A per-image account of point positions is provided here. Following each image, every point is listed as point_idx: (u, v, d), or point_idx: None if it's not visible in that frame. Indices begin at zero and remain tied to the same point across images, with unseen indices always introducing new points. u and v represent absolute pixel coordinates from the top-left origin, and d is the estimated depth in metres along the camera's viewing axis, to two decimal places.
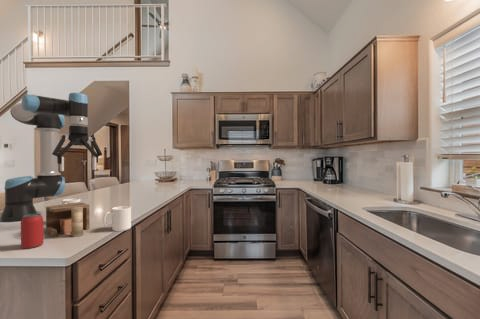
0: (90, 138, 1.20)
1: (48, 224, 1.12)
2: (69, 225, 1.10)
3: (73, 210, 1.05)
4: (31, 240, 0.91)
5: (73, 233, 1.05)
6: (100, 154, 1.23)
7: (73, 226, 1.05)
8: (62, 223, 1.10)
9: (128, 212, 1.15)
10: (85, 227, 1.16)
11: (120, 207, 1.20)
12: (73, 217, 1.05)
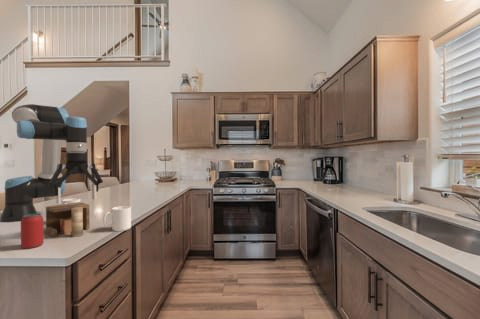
0: (89, 165, 1.10)
1: (48, 224, 1.12)
2: (69, 225, 1.10)
3: (73, 210, 1.05)
4: (31, 240, 0.91)
5: (73, 233, 1.05)
6: (100, 182, 1.13)
7: (73, 226, 1.05)
8: (62, 223, 1.10)
9: (128, 212, 1.15)
10: (85, 227, 1.16)
11: (120, 207, 1.20)
12: (73, 217, 1.05)
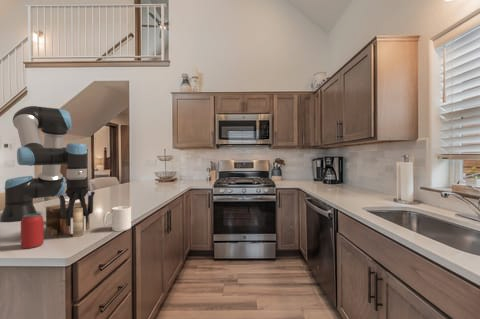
0: (89, 192, 1.10)
1: (48, 224, 1.12)
2: None
3: (73, 210, 1.05)
4: (31, 240, 0.91)
5: (73, 233, 1.05)
6: (90, 212, 1.10)
7: (73, 226, 1.05)
8: (62, 223, 1.10)
9: (128, 212, 1.15)
10: None
11: (120, 207, 1.20)
12: (73, 217, 1.05)
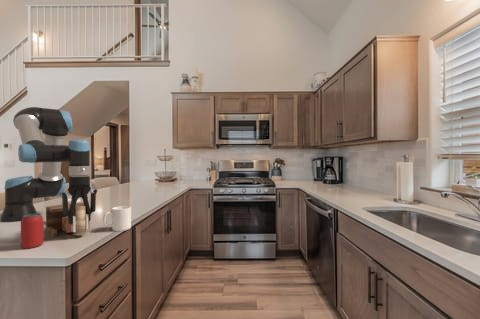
0: (92, 190, 1.08)
1: (48, 224, 1.12)
2: None
3: (75, 208, 1.03)
4: (31, 240, 0.91)
5: (76, 231, 1.03)
6: (93, 210, 1.08)
7: (76, 224, 1.03)
8: (64, 221, 1.08)
9: (128, 212, 1.15)
10: None
11: (120, 207, 1.20)
12: (76, 215, 1.03)
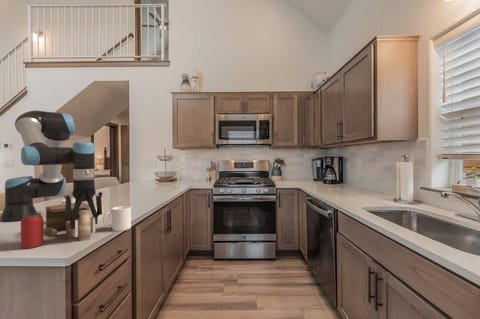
0: (97, 193, 1.05)
1: (48, 224, 1.12)
2: None
3: (80, 213, 1.00)
4: (31, 240, 0.91)
5: (80, 237, 1.00)
6: (100, 213, 1.05)
7: (80, 229, 1.00)
8: (68, 226, 1.05)
9: (128, 212, 1.15)
10: None
11: (120, 207, 1.20)
12: (80, 220, 1.00)
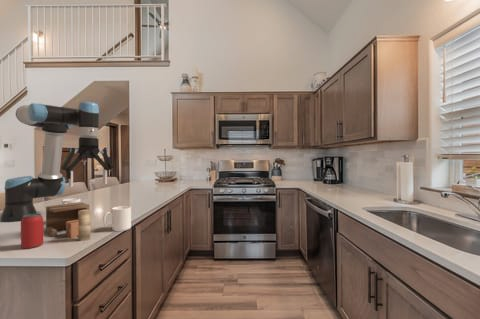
0: (101, 150, 1.12)
1: (48, 224, 1.12)
2: (76, 228, 1.05)
3: (80, 213, 1.00)
4: (31, 240, 0.91)
5: (80, 237, 1.00)
6: (111, 167, 1.15)
7: (80, 229, 1.00)
8: (68, 226, 1.05)
9: (128, 212, 1.15)
10: None
11: (120, 207, 1.20)
12: (80, 220, 1.00)
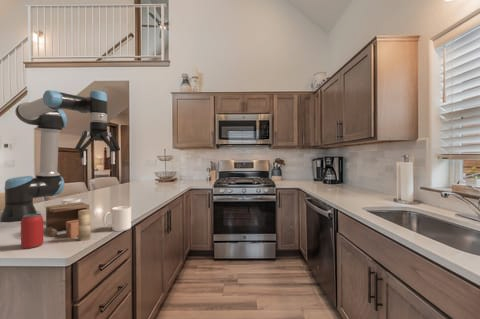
0: (109, 134, 1.26)
1: (48, 224, 1.12)
2: (76, 228, 1.05)
3: (80, 213, 1.00)
4: (31, 240, 0.91)
5: (80, 237, 1.00)
6: (118, 149, 1.29)
7: (80, 229, 1.00)
8: (68, 226, 1.05)
9: (128, 212, 1.15)
10: None
11: (120, 207, 1.20)
12: (80, 220, 1.00)
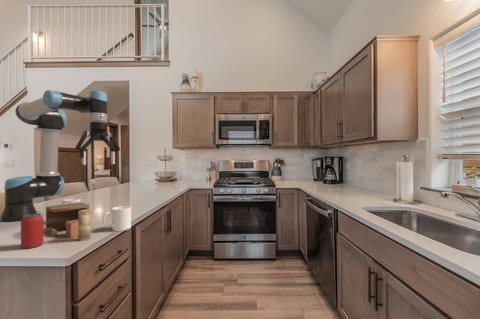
0: (109, 134, 1.26)
1: (48, 224, 1.12)
2: (76, 228, 1.05)
3: (80, 213, 1.00)
4: (31, 240, 0.91)
5: (80, 237, 1.00)
6: (118, 149, 1.29)
7: (80, 229, 1.00)
8: (68, 226, 1.05)
9: (128, 212, 1.15)
10: None
11: (120, 207, 1.20)
12: (80, 220, 1.00)
